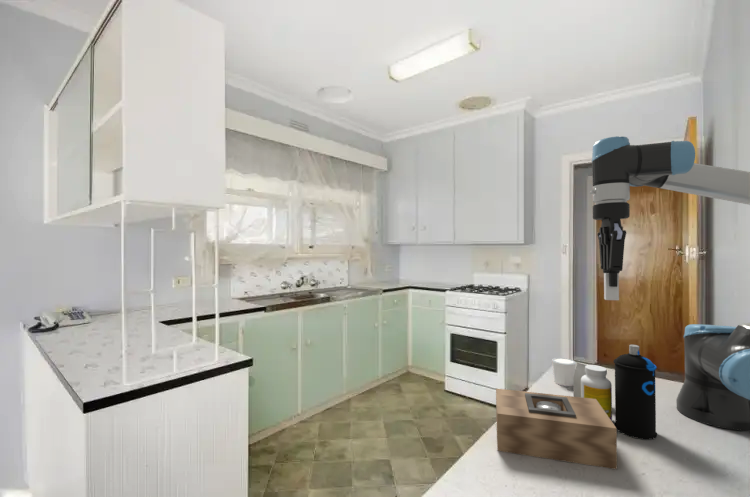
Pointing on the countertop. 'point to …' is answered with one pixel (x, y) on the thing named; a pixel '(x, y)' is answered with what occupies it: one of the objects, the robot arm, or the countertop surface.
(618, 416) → the aerosol can
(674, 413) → the countertop surface
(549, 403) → the peg
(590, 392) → the supplement bottle
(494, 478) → the countertop surface
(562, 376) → the white cup
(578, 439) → the socket block
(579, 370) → the grey boxy piece
